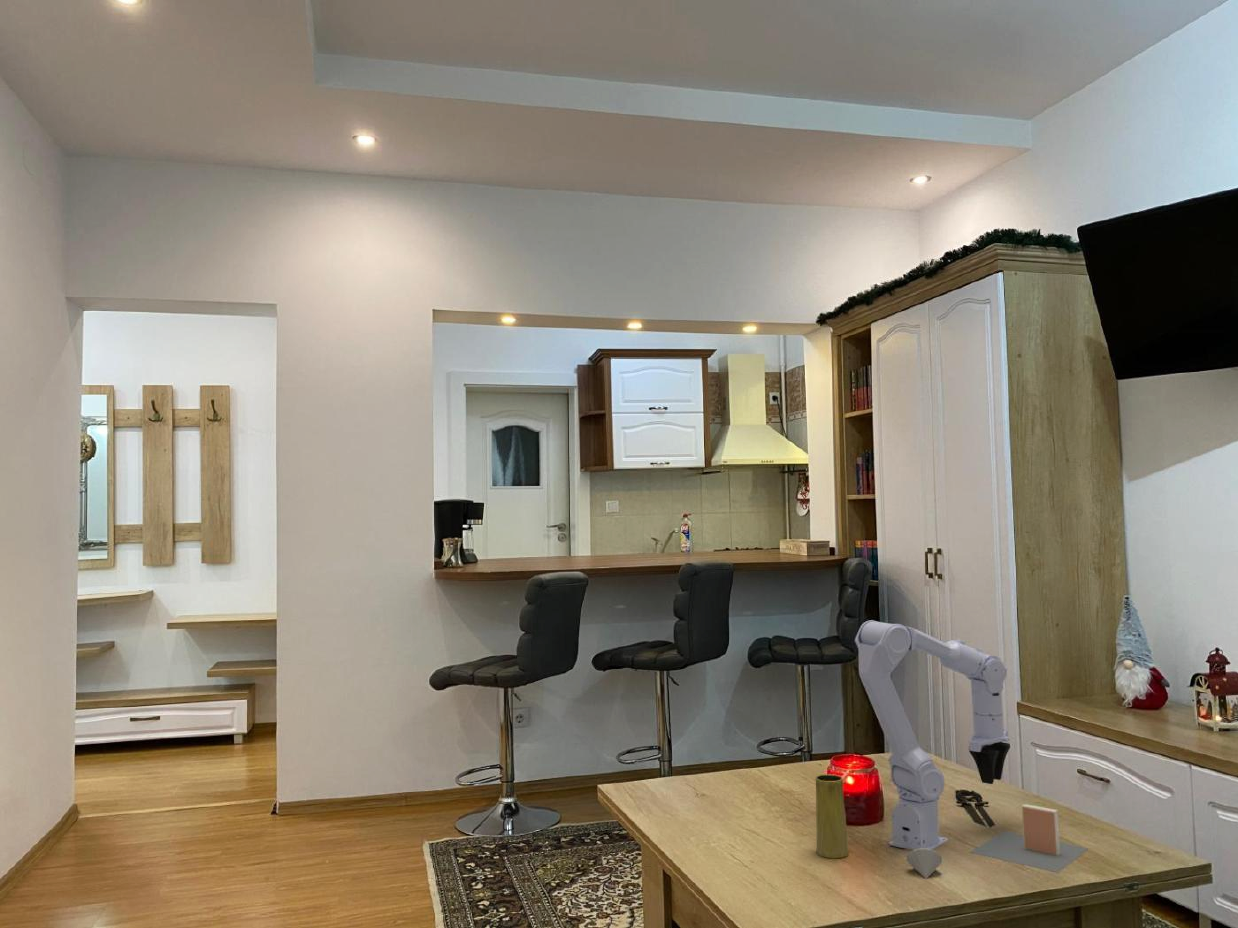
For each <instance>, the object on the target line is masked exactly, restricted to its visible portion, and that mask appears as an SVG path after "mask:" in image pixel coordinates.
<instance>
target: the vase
mask: <svg viewBox="0 0 1238 928" xmlns="http://www.w3.org/2000/svg"><path fill="white" fill-rule="evenodd" d="M844 801H845V799H844V778H843V777H842V776H841V775H837V774H834V773H833V774H831V773H826V774H825V773H822V774H818V775H816V776H815V806H816V809H815V813H816V815H815V817H816V819H815V822H816V850H815V851H816V854H817V855H819V856H820V857H823V858H826V859H842V858H846V857H848V856H849V853H850V852H849V848H848V832H847V820H846V819H847V817H846V809H845V802H844Z"/></svg>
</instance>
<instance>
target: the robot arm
mask: <svg viewBox="0 0 1238 928" xmlns="http://www.w3.org/2000/svg"><path fill="white" fill-rule="evenodd" d="M854 642H855V644H856V646H857V649H858V674H859V678H860V680H861V682H862V685H863V687H864V689H865V692H866V694H867V696H868V699H869V702H870V704H871V706H872V709H873V710H874V713H875V716H876V718H877V719H878V722H879V726H880V728H881V730H882V732H883V734H884V737H885V739H886V742H887V744H888V747H889V749H890V751H891V754H890V755H889V756H888V758H887V762H888V764H889V767H890V779H891V782H892V783H893V784H894V786H895V787H896V788H897V789H896V790H897V791H896V792H897V793H898V803H897V804H896V805H895V806H894V807H893V809H892V812H891V827H892V828H891V829H892V840H890V841H888V845H889V846H894V847H897V848H901V849H905V850H911V851H913V850H916V849H920V848H926V849H930V850H933V851H934V849H936V848H938V847H939V846H941V845H943V844H944V843H946V842H949V839H948V838H946V837H941V836H940V826H939V806H938V801H939V800H940V796H941V795H942V793H943V792H944V789H945V782H946V781H945V777H944V775H943V772H942V771H941V770H940V769H939V768H938V767H937V766H936V765H935V763H934V762H933V759H932V758H931V757H930V756H929V755H928V754H927V753H926V752H925V750H923V749H922V747H920V745H919V741H918V740H917V737H916V735H915V733H914V729H913V728H912V726H911V723H910V721H909V718H908V716H907V714H906V711H905V708H904V707H903V704H902V701H901V699H900V697H899V695H898V692H897V690H896V687H895V685H894V683H893V680H892V678H891V674H892V672H893V671H894V670H895V669H896V668H897V666H898V664H899V663H900V662H901V661H902V659H903V658H904V657H905V656H906V654H907V653H908V651H910V652H912V651H914V650H916V651H917V650H918V651H920V652H923V653H926V654H929V655H931V656H934V657H936V658H938V659H939V662H940V664H941V665H942V666H943V667H945V668H946V669H948V670H951V671H954V672H957V673H959V674H961V675H964V676H965V677H966V678H967V679H968V680H970V686H971V690H970V691H971V703H972V705H971V706H972V719H973V720H972V723H973V724H972V726H973V734H972V737H971V739H970V740H969V741H968V751H969V754H970V755H971V756H972V759H973V760H974V762H975V765H976V767H977V770H978V774H979V778H980V780H981V781H980V782H982V784H988V785H993V784H994V781H995V780H997V781H1001V779H1002V776H1003V771H1004V770H1003V769H1004V764H1005V760H1006V758H1007V755H1008V752H1009V750H1010V749H1011V744H1010V743H1008V742H1010V740H1011V737H1010V736H1009V729H1008V728H1007V729H1005V728H1004V716H1003V698H1002V697H1003V696H1002V693H1003V689H1004V681H1005V680H1006V677H1007V674H1008V668H1006V667H1005V665H1004V663H1003V661H1002V660H1001V658H999V657H998V656H995V655H992V654H991V655H990V654H986V653H984V650H983V649H982V648H978V647H975V648H973V647H971V646H969V645H966V641H964V640H962V639H955V640H953V639H952V640H949V641H946V642H944V641H941V640H940V639H938V638H935V637H933V636H932V635H929V634H927V633H925V632H923V631H920V630H918V629H916V628H915V627H910V626H905V625H903V624H901V623H888V622H881V621H877V620H873V619H871V620H867V621H865V622H863V623H862V624H861V625H860V627H859V630H858V631H857V634H856V635H855V639H854Z"/></svg>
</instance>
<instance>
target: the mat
mask: <svg viewBox="0 0 1238 928" xmlns="http://www.w3.org/2000/svg"><path fill="white" fill-rule="evenodd" d="M1059 843H1060V854H1059V855H1058V856H1056V855H1051V854H1046V853H1042V852H1037V851H1033V850H1028V849H1025V848H1024V834H1022V833H1017V832H1012V831H1007V830H1003V831H1001V832H1000V833H998V834H996V835H995V836H994V837H992V838H990V839H988V840H987V841H985V842H984V843H982V844H981V845H979V846H978V847H975V848H974V849H973V850H971V851H970V852H969V853H970V854H975V855H979V856H983V857H988V858H992V859H996V860H1001V861H1006V862H1009V863H1014V864H1018V865H1022V866H1026V867H1032V868H1035V869H1039V870H1044V871H1049V872H1052V873H1057V874H1059V873H1060V872H1061V871H1062V870H1064V869H1065V868H1067V867H1068V866H1069V865H1070V864H1071V863H1073V862H1074V861H1075V860H1077V858H1079V857H1081V855H1083V854H1084V853H1085V852H1087V851H1088V850H1089V848H1088V847H1084V846H1079V845H1074V844H1069V843H1064V842H1060V841H1059Z"/></svg>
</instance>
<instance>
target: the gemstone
mask: <svg viewBox="0 0 1238 928" xmlns="http://www.w3.org/2000/svg"><path fill="white" fill-rule="evenodd" d="M906 861H907V862H908V864H909V865H910V866H911V867H912V868H913V869H914V870H915V871H917V872H918V873H919V874H920V875H921V876H922V877H923V878H924V879H926V880H927V879H928V878H929V877H930V876H931V875H932V874H933V873H934V872H935V871H936V869H938V868H939V866H940V865H942V862H943V858H942V855H941V854H940V853H938V852H937V851H935V850H934V849H933V850H930V849H926V848H920V849H916V850H911V851H910V852H909V853H907V855H906Z"/></svg>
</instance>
